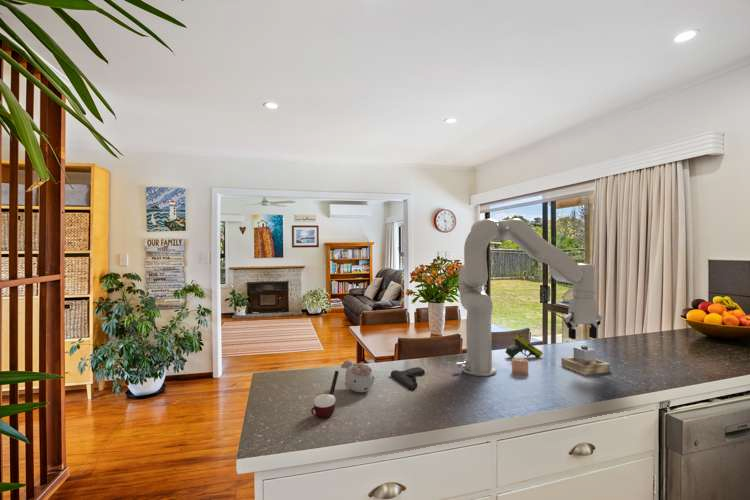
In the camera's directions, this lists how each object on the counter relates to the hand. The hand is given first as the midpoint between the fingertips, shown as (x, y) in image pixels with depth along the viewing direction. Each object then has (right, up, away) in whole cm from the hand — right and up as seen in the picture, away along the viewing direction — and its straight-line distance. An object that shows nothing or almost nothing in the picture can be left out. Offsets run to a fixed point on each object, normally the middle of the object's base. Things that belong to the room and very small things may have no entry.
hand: (582, 338), depth 154 cm
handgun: (-67, -14, -9) cm, 69 cm away
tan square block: (-26, -13, -3) cm, 29 cm away
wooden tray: (+1, -12, 0) cm, 12 cm away
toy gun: (-16, -13, +17) cm, 27 cm away
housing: (+1, -10, 0) cm, 10 cm away
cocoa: (-97, -14, -39) cm, 105 cm away
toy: (-88, -14, -17) cm, 91 cm away
